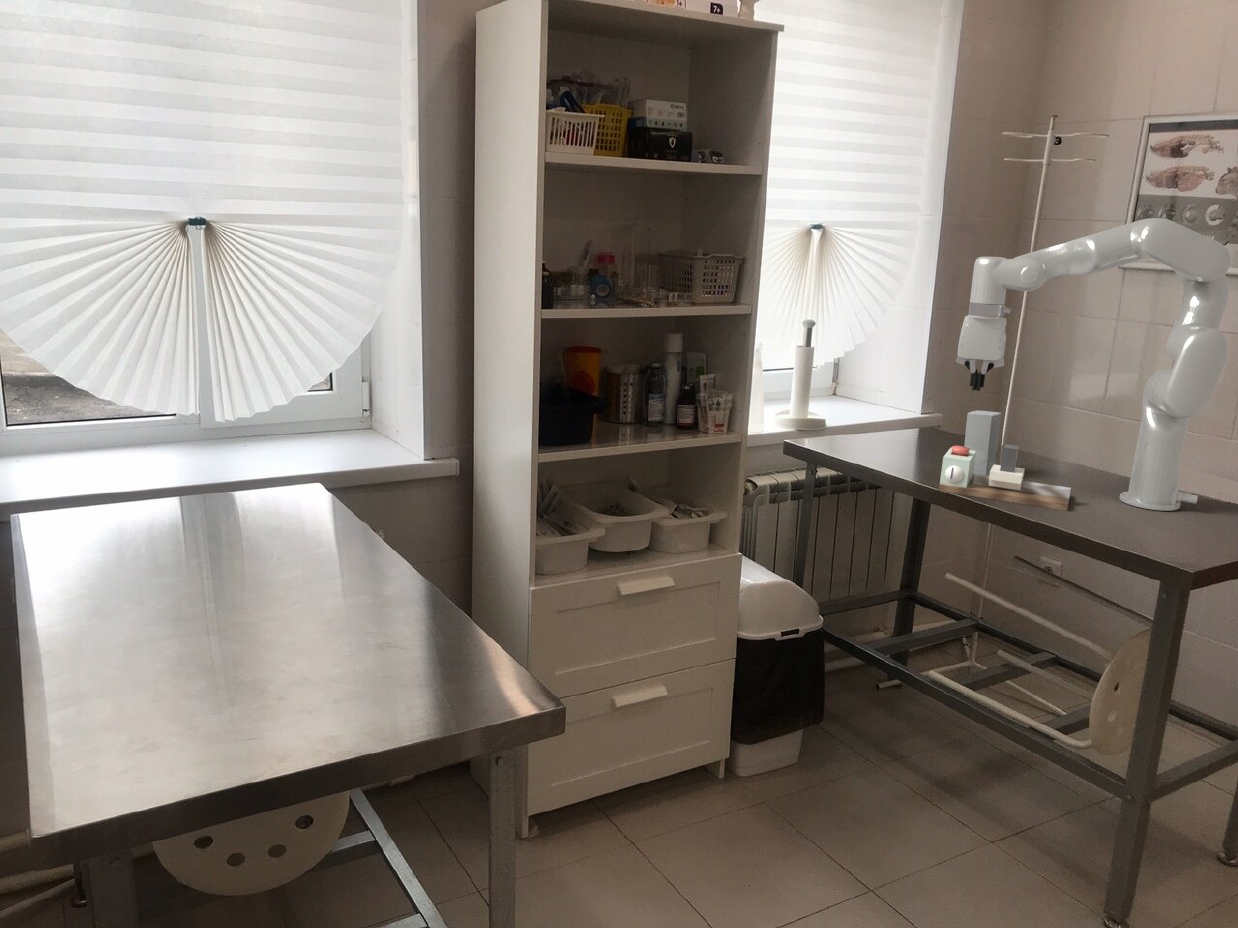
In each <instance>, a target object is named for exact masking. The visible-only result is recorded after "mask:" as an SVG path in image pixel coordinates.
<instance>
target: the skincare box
mask: <svg viewBox="0 0 1238 928" xmlns="http://www.w3.org/2000/svg"><path fill="white" fill-rule="evenodd" d="M1002 414H1003V413H1002V412H997V411H989V410H988V411H987V410H979V409H978V410H972V411H969V412H967V416H966V425H965V434H964V435H965V436H964V437H965V438H964V447H968V448H970V450H972V451H976V456H975V463H974V469H973V476H975V474H981V475H987V476H989V475H990V470H991V468H992V466H993V465H994V464H995V465H997V458H998V451H999V450H998V448H999V443H1000V442H999V441H1000V431H1001V422H1002V416H1003V415H1002Z"/></svg>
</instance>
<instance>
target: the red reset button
mask: <svg viewBox="0 0 1238 928" xmlns="http://www.w3.org/2000/svg"><path fill="white" fill-rule="evenodd" d="M951 448H952V451H951V452H952V453H954V455H958V456H965V457H966V455H967V454H969V450H970V448H968V447H964V446H962V445H952V446H951Z"/></svg>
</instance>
